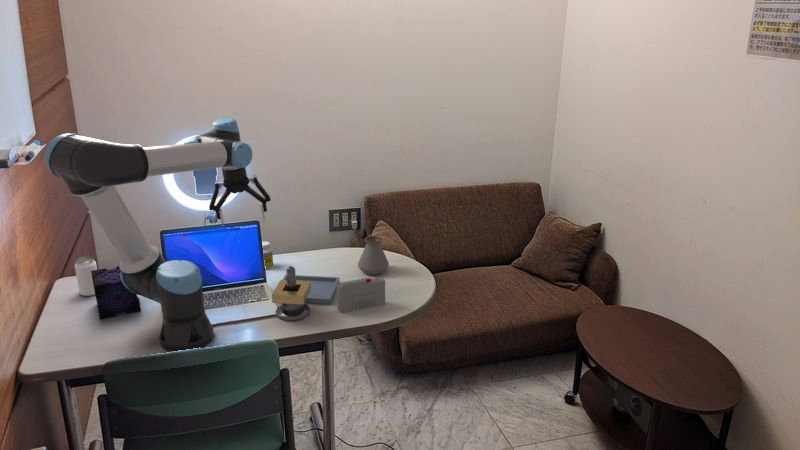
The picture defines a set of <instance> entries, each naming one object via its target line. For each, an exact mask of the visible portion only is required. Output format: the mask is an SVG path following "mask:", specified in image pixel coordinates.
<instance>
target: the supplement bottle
mask: <svg viewBox="0 0 800 450" xmlns="http://www.w3.org/2000/svg"><path fill="white" fill-rule="evenodd" d="M261 242H262V248H263V255H264V260H265V266H266V269H265V270H270V269H272V268H273V267H274V257H273V256H274V255H273V248H272V247H271V244H270V242H269V241H261Z"/></svg>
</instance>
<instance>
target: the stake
mask: <svg viewBox="0 0 800 450" xmlns="http://www.w3.org/2000/svg"><path fill="white" fill-rule="evenodd" d="M285 271H286V274H285V275H287V291H293V292H296V275H297V274H296V268H295V267H294V266H293V265H290V266H288V267H286V269H285ZM280 304H281V305H279V306H278V307H277V308H276V309H275V317H276V318H277V319H279V320H281V321H284V322H298V321H302V320H304V319H306V318H308V317H309V315H310V314H311V308H310V306H309V304H307V303H304V305H303V304H286V303H280Z"/></svg>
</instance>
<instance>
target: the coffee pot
mask: <svg viewBox="0 0 800 450" xmlns="http://www.w3.org/2000/svg"><path fill="white" fill-rule="evenodd" d="M362 223H363V225H365V230H366V232H367V235H368V236H366V237H365V238H364V242H365V246H364V249H363V251H362V253H361V255H360V258H359V259H358V263H357V267H358V268H359V270H360V271H361V272H363V273H364V274H365V275H369V276H379V275H382V274H383V273H384V272H386V270H387V269H388V267H389V265H390V264H389V261H388V258H387V256H386V254H385V252H384V249H383V247H382V245H381V243H382V241H383V237H380V236H378V235H371V229H370V226H369V223H370V221H369V220H368V219H365V220H363V222H362Z"/></svg>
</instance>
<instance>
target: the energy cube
mask: <svg viewBox="0 0 800 450" xmlns="http://www.w3.org/2000/svg"><path fill="white" fill-rule="evenodd" d="M120 273H121V270H120V267H119V265H118V266H116V267H115V268H110V269H107V268H106V267H105V268H99V269H97V270H93V271H91V274H92V280H93V286H94V291H95V300H96V304H97V312H98V317H99V320H100V321H102V320H107V319H111V318H115V317H116V316H117V315H121V314H125V315H131V314H134V313H140V312H142V310H141V302H140V298H139V296H138V295H137V294H135V293H133V292H131V291H130V290H129V289H127V288H126V287H125V286H124V285H123V283H122V281H121V278H120Z"/></svg>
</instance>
